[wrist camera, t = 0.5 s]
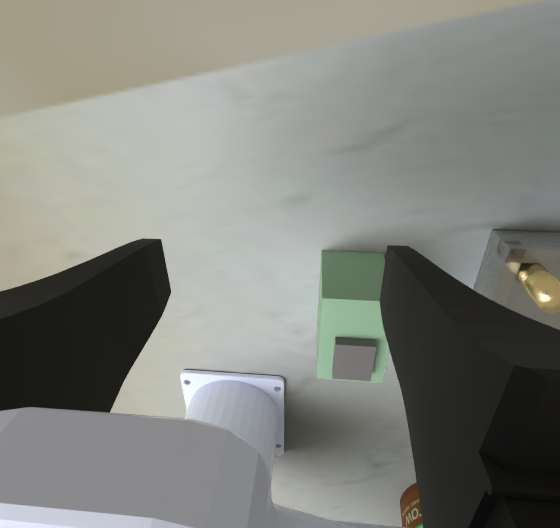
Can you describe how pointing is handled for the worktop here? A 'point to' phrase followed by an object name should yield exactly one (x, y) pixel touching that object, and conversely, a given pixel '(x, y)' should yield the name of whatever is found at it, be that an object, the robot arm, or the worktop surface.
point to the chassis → (523, 273)
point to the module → (351, 318)
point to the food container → (411, 508)
